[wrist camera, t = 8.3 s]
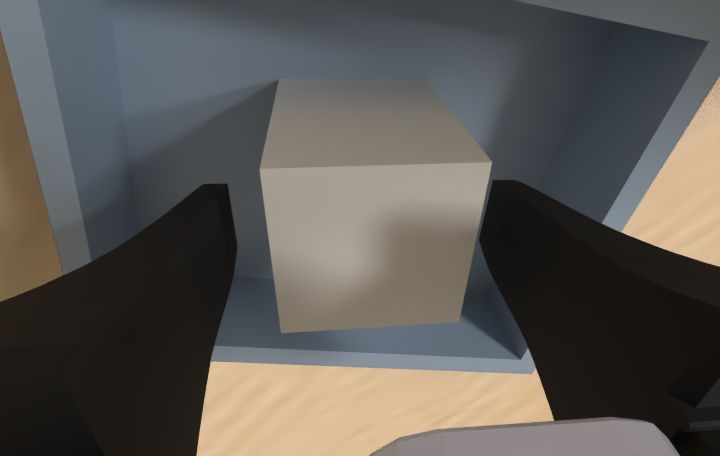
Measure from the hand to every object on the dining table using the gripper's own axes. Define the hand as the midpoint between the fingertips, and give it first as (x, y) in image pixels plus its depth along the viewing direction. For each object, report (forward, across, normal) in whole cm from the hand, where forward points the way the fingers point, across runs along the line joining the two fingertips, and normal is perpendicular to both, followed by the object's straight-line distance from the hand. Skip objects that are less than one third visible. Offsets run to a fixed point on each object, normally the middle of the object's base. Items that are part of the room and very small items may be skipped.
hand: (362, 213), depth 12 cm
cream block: (+3, 0, 0) cm, 4 cm away
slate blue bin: (+4, 0, 0) cm, 4 cm away
